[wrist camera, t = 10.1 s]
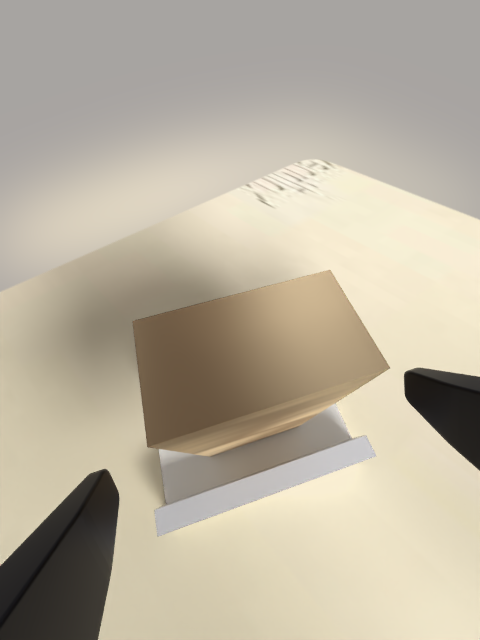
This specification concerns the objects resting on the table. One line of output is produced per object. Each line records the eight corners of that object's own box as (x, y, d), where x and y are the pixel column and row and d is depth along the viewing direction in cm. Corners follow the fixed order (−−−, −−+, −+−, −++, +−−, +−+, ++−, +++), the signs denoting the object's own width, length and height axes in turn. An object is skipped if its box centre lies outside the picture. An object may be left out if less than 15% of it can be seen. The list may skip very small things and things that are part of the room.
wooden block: (280, 379, 17) (330, 269, 7) (298, 426, 15) (389, 367, 6) (198, 405, 16) (132, 321, 7) (210, 456, 15) (147, 447, 5)
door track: (300, 337, 19) (308, 319, 17) (356, 460, 15) (378, 460, 13) (152, 380, 18) (138, 367, 15) (173, 527, 14) (158, 542, 11)
